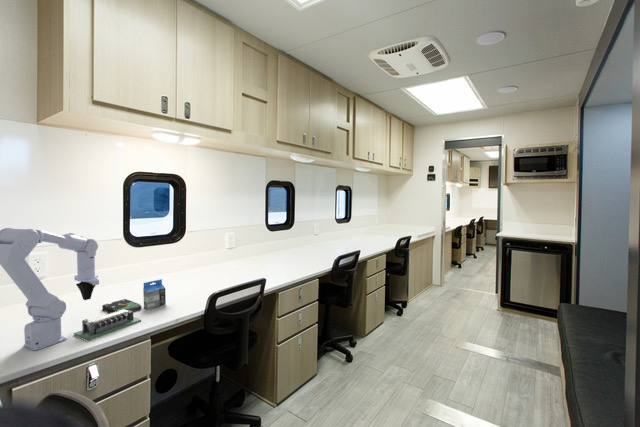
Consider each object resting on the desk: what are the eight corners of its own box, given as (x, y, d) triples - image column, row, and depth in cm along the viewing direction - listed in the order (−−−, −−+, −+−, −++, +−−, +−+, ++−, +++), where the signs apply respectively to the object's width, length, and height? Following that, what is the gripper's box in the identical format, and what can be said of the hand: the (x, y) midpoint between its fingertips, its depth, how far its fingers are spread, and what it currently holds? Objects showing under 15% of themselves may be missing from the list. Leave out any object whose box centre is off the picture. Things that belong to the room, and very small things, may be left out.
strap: (88, 329, 113) (88, 323, 113) (84, 327, 114) (84, 321, 114) (127, 315, 126) (127, 310, 126) (123, 314, 127) (123, 308, 127)
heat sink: (91, 336, 112) (91, 323, 112) (81, 332, 115) (81, 320, 115) (127, 323, 124) (126, 311, 124) (117, 319, 127) (116, 308, 127)
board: (88, 341, 110) (88, 330, 110) (73, 335, 114) (73, 324, 114) (141, 321, 128) (140, 311, 128) (126, 316, 132) (126, 307, 132)
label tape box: (147, 309, 141) (146, 284, 140) (143, 307, 143) (143, 282, 142) (165, 304, 148) (165, 280, 147) (162, 302, 150) (161, 278, 149)
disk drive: (101, 310, 139) (118, 317, 132) (101, 305, 139) (118, 311, 132) (125, 304, 149) (142, 309, 141) (124, 298, 148) (142, 304, 141)
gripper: (106, 267, 123) (107, 299, 124) (87, 263, 130) (88, 293, 131) (87, 271, 117) (88, 304, 118) (68, 266, 123) (69, 298, 124)
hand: (86, 299), depth 124 cm, fingers closed
